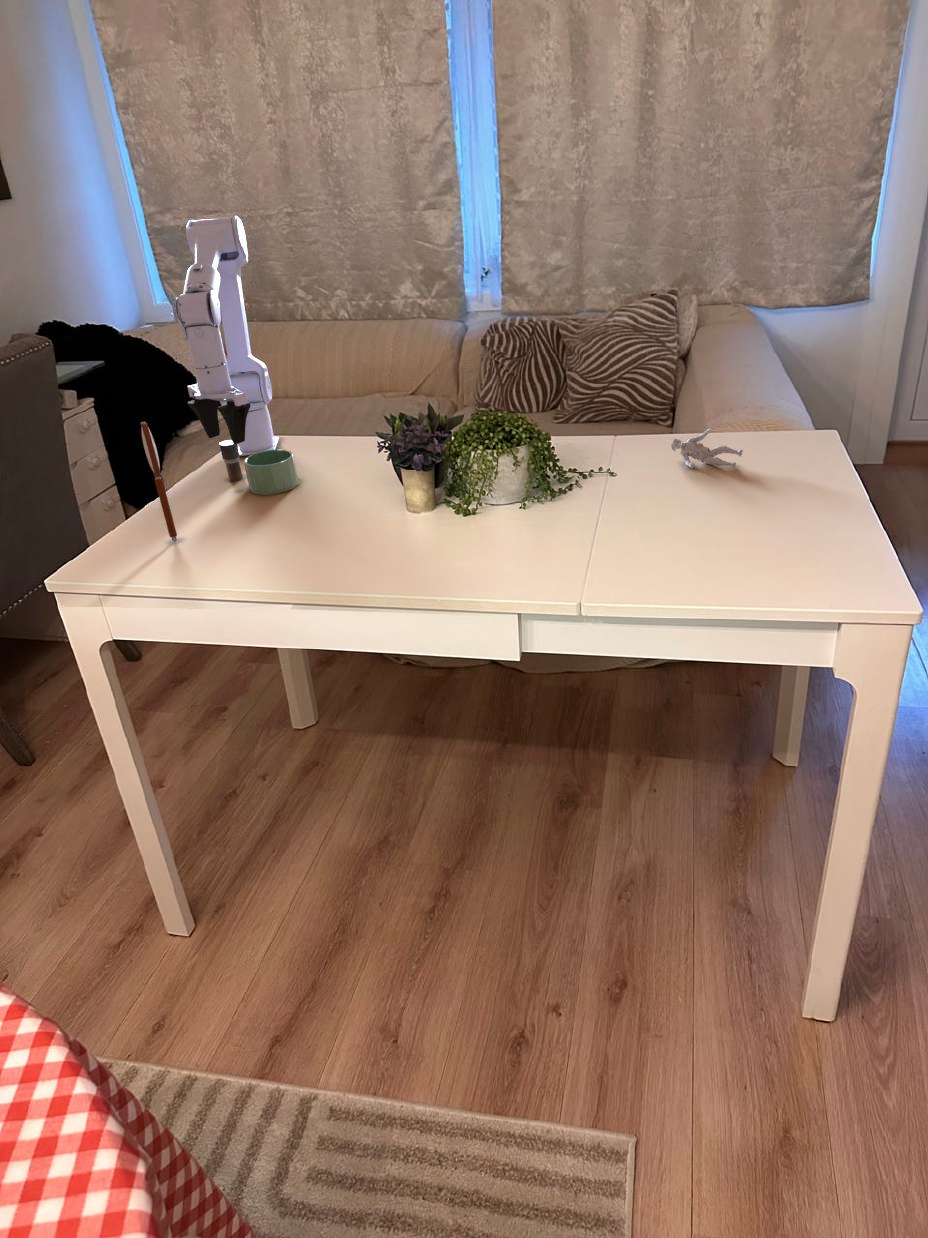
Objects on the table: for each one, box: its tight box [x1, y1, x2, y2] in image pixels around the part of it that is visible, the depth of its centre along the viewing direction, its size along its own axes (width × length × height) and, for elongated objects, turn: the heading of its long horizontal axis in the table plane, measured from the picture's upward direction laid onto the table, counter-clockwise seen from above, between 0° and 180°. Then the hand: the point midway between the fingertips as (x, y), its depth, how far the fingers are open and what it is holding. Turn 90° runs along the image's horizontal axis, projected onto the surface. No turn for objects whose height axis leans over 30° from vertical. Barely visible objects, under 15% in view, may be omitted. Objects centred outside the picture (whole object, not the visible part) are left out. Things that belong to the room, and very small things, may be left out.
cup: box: [243, 449, 299, 496], centre depth 168 cm, size 9×9×6 cm
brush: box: [219, 439, 244, 482], centre depth 173 cm, size 3×3×7 cm
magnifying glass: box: [140, 421, 178, 542], centre depth 145 cm, size 9×2×20 cm, turn 22°
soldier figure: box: [670, 428, 744, 469], centre depth 159 cm, size 8×5×12 cm
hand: (226, 439), depth 166 cm, fingers open, 7 cm apart
